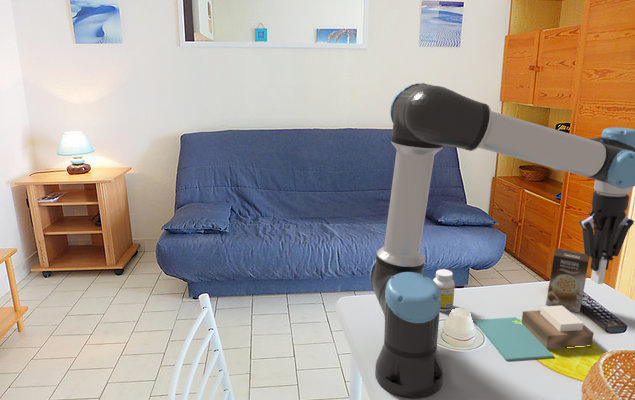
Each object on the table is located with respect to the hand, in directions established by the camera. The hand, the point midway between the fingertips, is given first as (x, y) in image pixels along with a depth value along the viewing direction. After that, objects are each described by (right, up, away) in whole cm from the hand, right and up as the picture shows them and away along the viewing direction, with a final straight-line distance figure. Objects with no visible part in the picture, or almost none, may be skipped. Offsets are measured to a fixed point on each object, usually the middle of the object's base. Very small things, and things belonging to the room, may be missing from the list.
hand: (596, 281), depth 121 cm
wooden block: (-9, -15, +3) cm, 18 cm away
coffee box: (+1, -10, +19) cm, 22 cm away
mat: (-21, -15, +2) cm, 26 cm away
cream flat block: (-8, -11, +2) cm, 14 cm away
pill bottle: (-35, -11, +18) cm, 41 cm away
